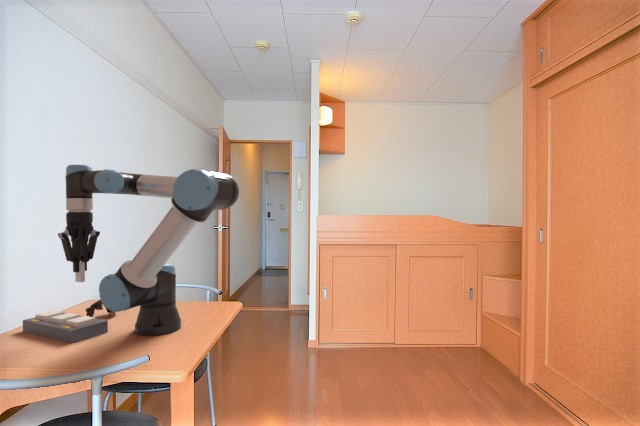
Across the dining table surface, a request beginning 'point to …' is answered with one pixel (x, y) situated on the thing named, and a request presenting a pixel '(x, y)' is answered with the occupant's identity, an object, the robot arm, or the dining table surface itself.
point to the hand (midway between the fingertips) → (80, 281)
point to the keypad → (64, 329)
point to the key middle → (63, 318)
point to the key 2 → (80, 321)
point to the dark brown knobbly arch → (98, 306)
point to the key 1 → (48, 315)
